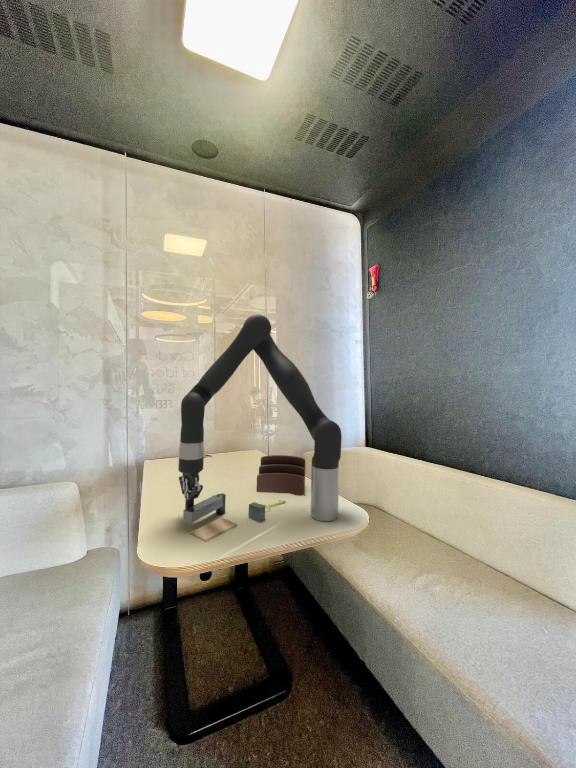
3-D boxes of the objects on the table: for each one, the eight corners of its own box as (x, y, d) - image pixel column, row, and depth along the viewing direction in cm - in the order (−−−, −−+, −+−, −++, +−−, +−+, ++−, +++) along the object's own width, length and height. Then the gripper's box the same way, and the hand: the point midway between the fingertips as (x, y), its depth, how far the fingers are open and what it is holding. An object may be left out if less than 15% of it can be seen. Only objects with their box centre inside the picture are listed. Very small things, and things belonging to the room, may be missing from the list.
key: (286, 505, 112) (286, 499, 112) (265, 516, 102) (265, 510, 102) (271, 500, 117) (271, 495, 117) (250, 511, 107) (250, 505, 107)
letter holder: (260, 485, 133) (260, 454, 133) (304, 487, 131) (305, 455, 131) (256, 493, 123) (256, 459, 123) (304, 496, 121) (305, 461, 121)
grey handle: (219, 509, 104) (219, 492, 104) (227, 512, 103) (227, 494, 103) (182, 530, 90) (183, 510, 90) (191, 532, 88) (191, 512, 88)
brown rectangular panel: (222, 521, 97) (222, 517, 97) (237, 528, 93) (237, 524, 93) (190, 535, 88) (190, 531, 88) (205, 543, 83) (205, 539, 83)
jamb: (226, 505, 109) (226, 492, 109) (264, 521, 98) (265, 505, 98) (203, 515, 101) (203, 500, 101) (242, 532, 90) (243, 516, 90)
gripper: (212, 458, 92) (210, 514, 92) (193, 449, 102) (191, 500, 102) (189, 462, 87) (186, 521, 87) (171, 452, 97) (169, 506, 97)
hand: (189, 509), depth 95 cm, fingers closed
